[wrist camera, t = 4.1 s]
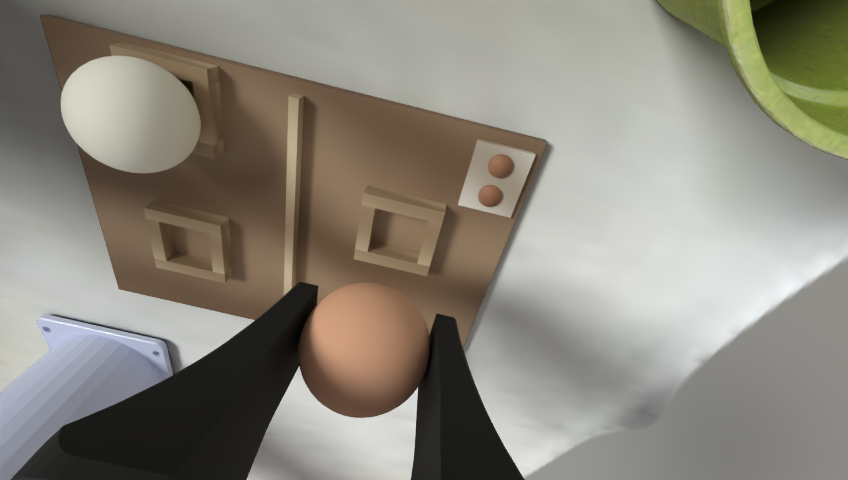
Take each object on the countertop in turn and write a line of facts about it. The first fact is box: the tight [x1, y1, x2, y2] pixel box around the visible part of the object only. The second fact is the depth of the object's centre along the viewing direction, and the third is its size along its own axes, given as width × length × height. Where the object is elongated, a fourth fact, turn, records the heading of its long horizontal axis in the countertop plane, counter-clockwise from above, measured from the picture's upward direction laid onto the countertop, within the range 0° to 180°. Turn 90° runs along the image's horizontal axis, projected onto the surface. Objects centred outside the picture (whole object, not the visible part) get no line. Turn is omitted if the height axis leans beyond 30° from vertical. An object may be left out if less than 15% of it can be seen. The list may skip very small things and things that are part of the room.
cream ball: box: [61, 56, 201, 173], centre depth 14 cm, size 4×4×4 cm
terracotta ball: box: [298, 282, 430, 418], centre depth 12 cm, size 4×4×4 cm
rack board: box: [40, 15, 547, 347], centre depth 19 cm, size 14×20×1 cm
